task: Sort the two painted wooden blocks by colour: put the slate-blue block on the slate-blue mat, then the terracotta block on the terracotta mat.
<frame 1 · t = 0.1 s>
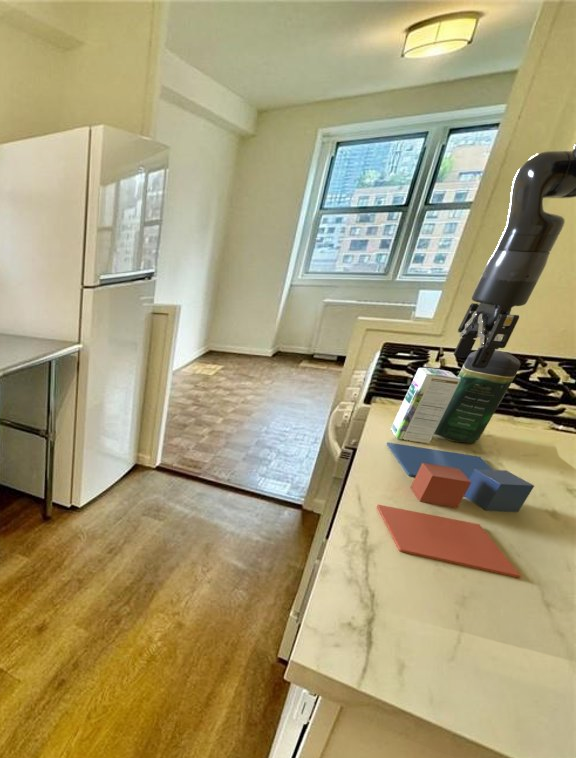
hand: (468, 361, 97), 17 cm above the worktop, tool pointing down, fingers open, 8 cm apart
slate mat: (445, 466, 92), on the worktop
syrup box: (408, 437, 104), on the worktop
terracotta mat: (440, 538, 72), on the worktop
terracotta block: (432, 497, 82), on the worktop
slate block: (488, 502, 81), on the worktop
coffee jar: (453, 436, 105), on the worktop, touching gripper
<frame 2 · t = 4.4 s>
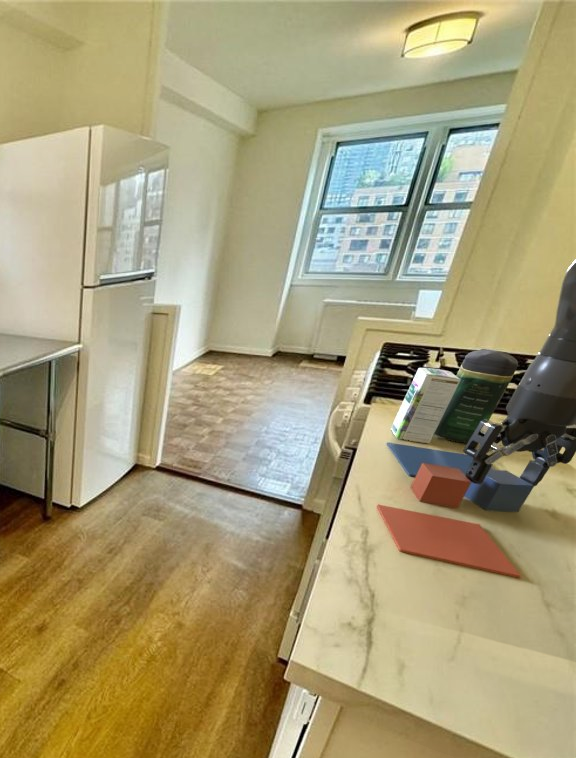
hand: (499, 482, 78), 4 cm above the worktop, tool pointing down, fingers open, 8 cm apart
terracotta block: (432, 497, 82), on the worktop, touching gripper
coffee jar: (452, 436, 105), on the worktop
everything else where it was.
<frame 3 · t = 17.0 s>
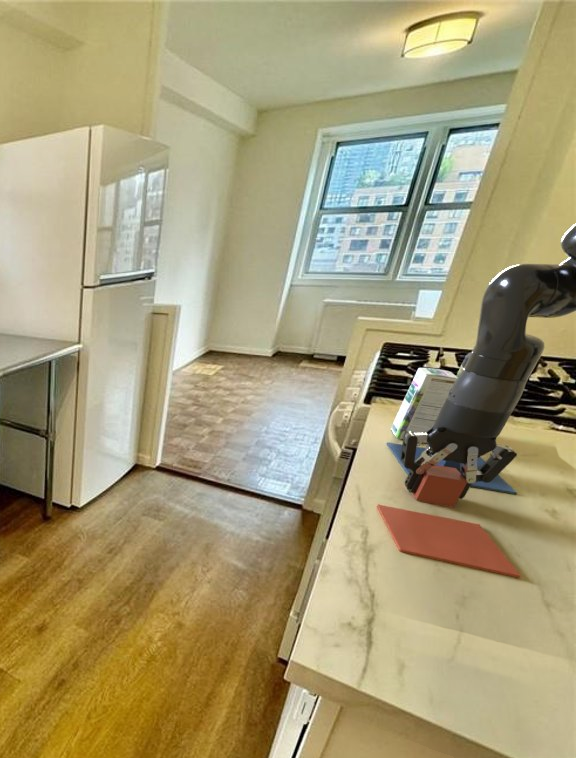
hand: (431, 494, 82), 1 cm above the worktop, tool pointing down, fingers closed on terracotta block, 5 cm apart
terracotta block: (429, 496, 82), on the worktop, touching gripper
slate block: (444, 465, 92), resting on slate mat
everything else where it was.
when the fingers open (1 cm above the worktop, at t = 23.3 s): terracotta block stays where it is, resting on terracotta mat.
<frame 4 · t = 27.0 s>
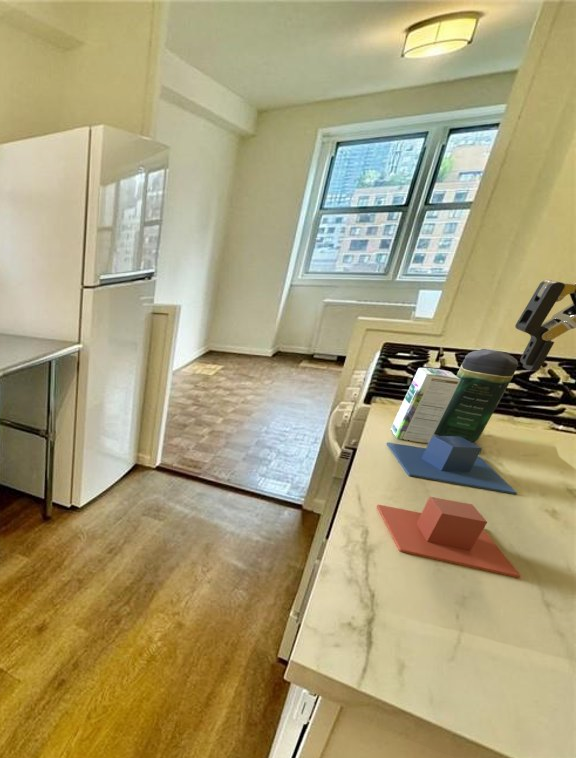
terracotta block: (442, 536, 72), resting on terracotta mat
everything else where it was.
at the end: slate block inside the target area on the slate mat (0.3 cm from its centre), point 0.4 cm above the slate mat's base; terracotta block inside the target area on the terracotta mat (0.1 cm from its centre), point 0.4 cm above the terracotta mat's base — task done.
